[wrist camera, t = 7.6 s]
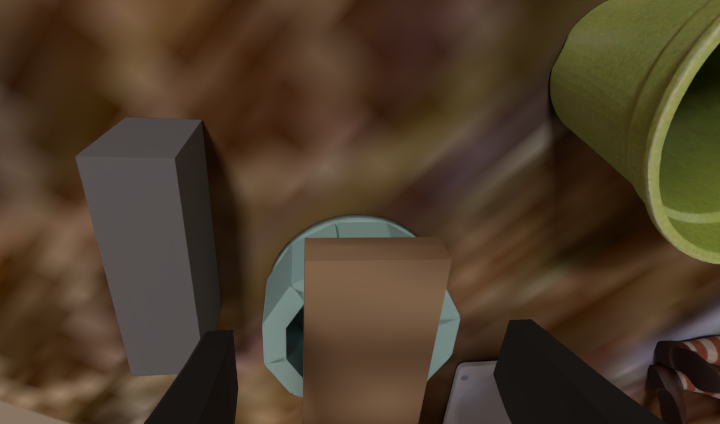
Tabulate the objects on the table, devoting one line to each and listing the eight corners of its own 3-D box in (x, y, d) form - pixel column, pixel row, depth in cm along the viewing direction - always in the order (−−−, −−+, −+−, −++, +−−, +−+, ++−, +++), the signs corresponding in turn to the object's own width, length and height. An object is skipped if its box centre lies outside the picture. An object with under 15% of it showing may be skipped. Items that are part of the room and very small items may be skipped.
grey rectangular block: (221, 304, 22) (205, 372, 19) (161, 306, 22) (132, 376, 18) (201, 119, 18) (174, 158, 14) (125, 117, 17) (75, 156, 13)
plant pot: (480, 27, 18) (618, 61, 10) (701, -108, 16) (1054, -187, 9) (545, 197, 22) (675, 310, 14) (724, 101, 21) (970, 170, 13)
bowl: (421, 344, 26) (441, 400, 22) (271, 350, 24) (266, 411, 21) (446, 214, 22) (474, 258, 18) (265, 213, 20) (259, 261, 17)
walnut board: (407, 414, 22) (414, 442, 21) (302, 421, 22) (302, 451, 20) (439, 236, 17) (452, 259, 16) (304, 237, 17) (305, 261, 15)
